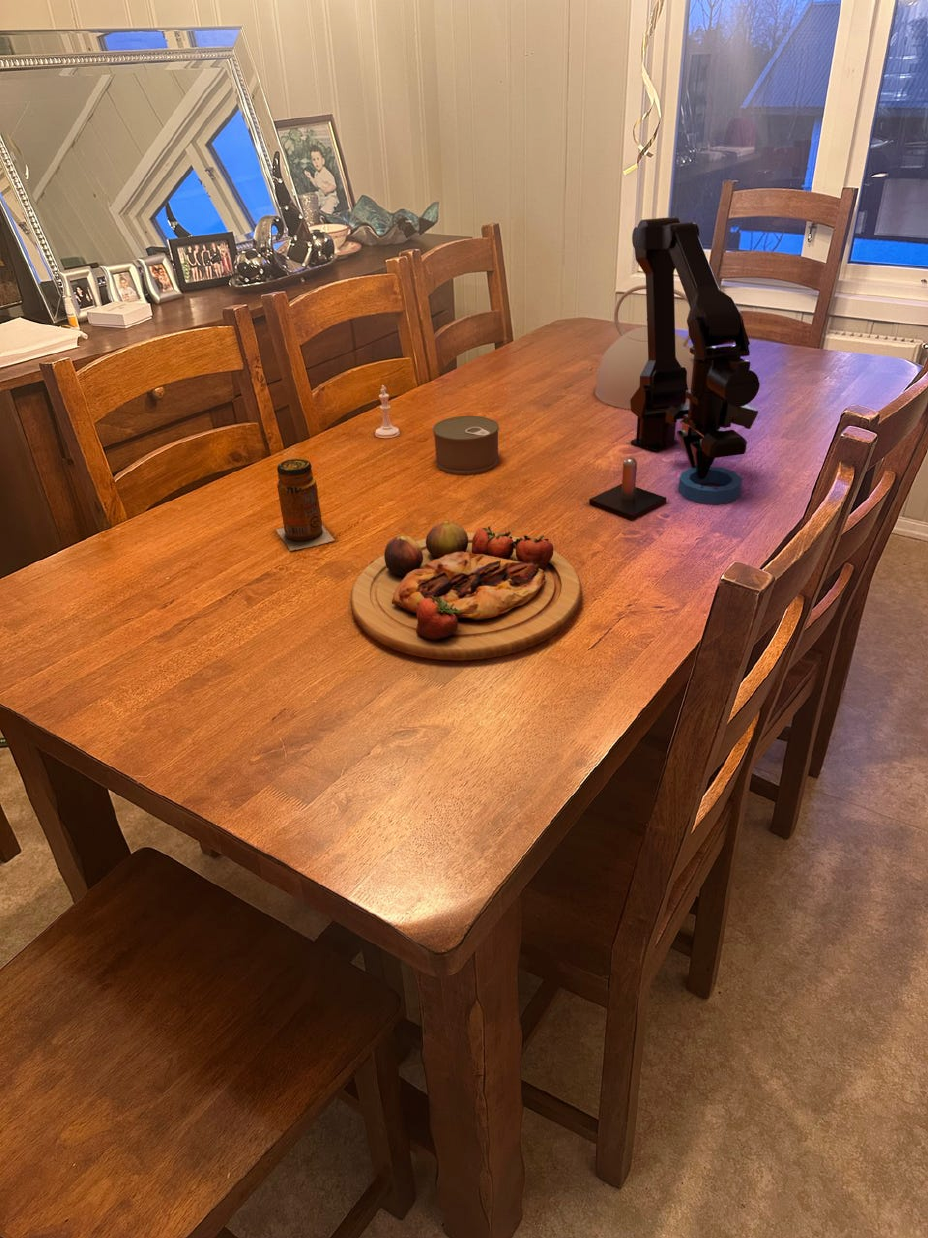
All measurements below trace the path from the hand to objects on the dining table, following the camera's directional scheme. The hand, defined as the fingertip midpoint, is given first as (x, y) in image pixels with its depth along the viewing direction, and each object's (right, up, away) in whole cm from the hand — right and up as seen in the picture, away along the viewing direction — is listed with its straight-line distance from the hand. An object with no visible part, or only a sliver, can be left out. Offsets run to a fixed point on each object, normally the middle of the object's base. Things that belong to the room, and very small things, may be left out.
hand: (699, 476), depth 150 cm
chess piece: (-56, +13, +27) cm, 63 cm away
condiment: (-66, -12, -10) cm, 68 cm away
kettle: (+1, +24, +40) cm, 47 cm away
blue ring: (+1, -3, -3) cm, 4 cm away
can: (-40, +4, +12) cm, 42 cm away
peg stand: (-13, -6, -6) cm, 16 cm away
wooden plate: (-40, -22, -29) cm, 54 cm away
